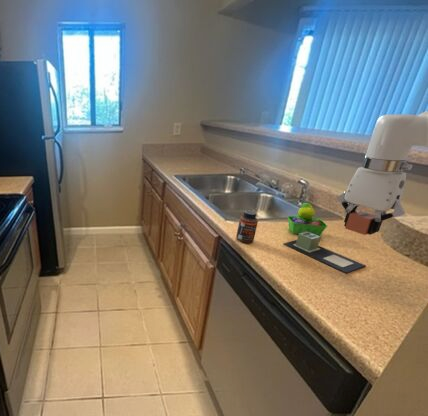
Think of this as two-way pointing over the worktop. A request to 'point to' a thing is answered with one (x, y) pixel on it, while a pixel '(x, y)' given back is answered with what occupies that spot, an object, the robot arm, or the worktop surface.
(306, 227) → the fruit basket
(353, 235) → the worktop surface
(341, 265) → the word mat
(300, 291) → the worktop surface
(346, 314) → the worktop surface
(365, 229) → the block
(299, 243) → the block
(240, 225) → the supplement bottle
